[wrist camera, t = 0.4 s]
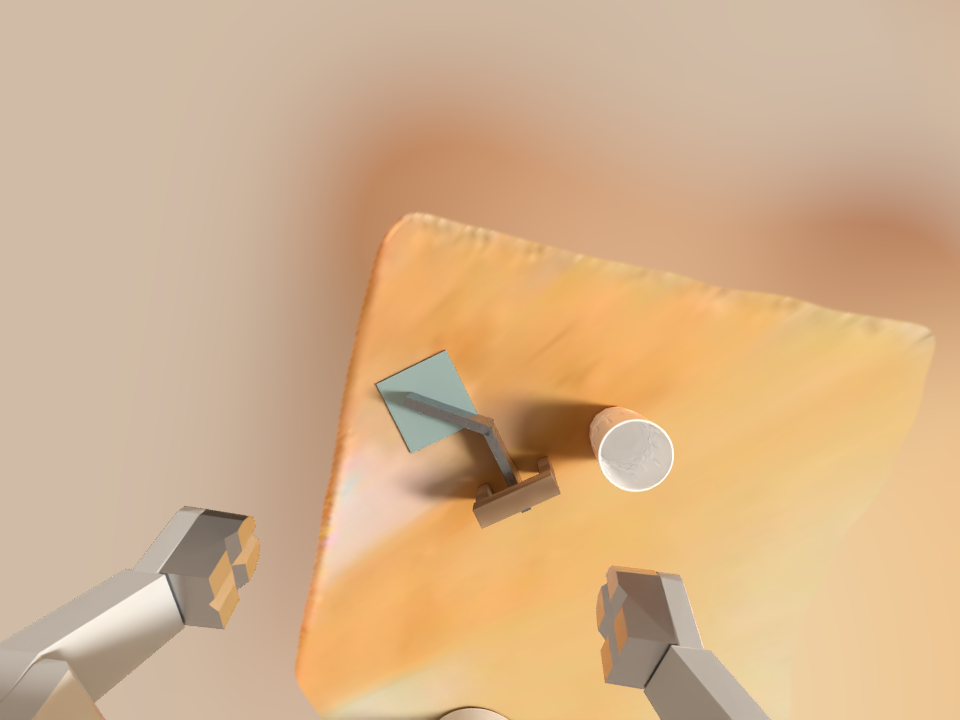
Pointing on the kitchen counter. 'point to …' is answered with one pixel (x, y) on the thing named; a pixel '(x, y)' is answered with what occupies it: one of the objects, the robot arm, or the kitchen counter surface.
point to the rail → (471, 423)
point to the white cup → (630, 449)
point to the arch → (515, 496)
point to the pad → (429, 381)
